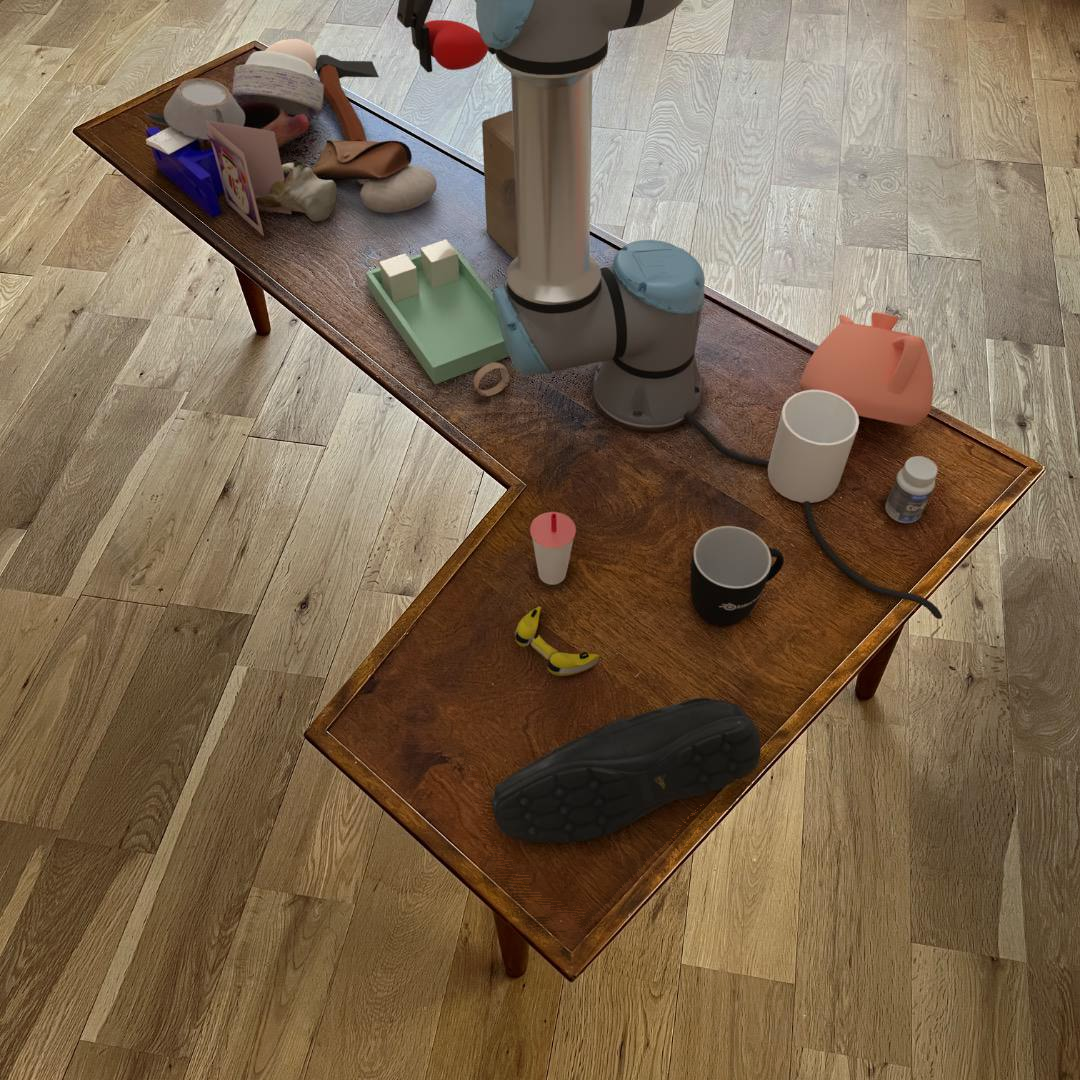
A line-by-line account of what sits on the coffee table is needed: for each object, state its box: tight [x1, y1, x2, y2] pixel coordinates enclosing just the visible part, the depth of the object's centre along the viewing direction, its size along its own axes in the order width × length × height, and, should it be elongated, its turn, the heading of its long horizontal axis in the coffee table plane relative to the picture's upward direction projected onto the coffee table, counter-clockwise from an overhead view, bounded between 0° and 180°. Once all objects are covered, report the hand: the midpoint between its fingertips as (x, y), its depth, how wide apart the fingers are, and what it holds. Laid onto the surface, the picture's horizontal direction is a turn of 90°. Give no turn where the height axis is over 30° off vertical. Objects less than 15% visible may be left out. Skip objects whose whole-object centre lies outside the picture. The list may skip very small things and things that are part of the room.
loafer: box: [491, 697, 762, 844], centre depth 116 cm, size 10×29×10 cm
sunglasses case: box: [311, 139, 413, 180], centre depth 181 cm, size 18×7×7 cm
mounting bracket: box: [145, 125, 225, 219], centre depth 181 cm, size 18×7×6 cm
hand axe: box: [315, 54, 380, 141], centre depth 197 cm, size 12×3×30 cm
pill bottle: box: [884, 455, 939, 524], centre depth 138 cm, size 5×5×8 cm
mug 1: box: [689, 525, 785, 628], centre depth 129 cm, size 12×9×10 cm
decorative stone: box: [359, 165, 438, 214], centre depth 178 cm, size 13×9×5 cm
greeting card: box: [206, 121, 293, 237], centre depth 173 cm, size 11×7×15 cm, turn 40°
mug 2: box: [767, 390, 860, 504], centre depth 141 cm, size 10×12×12 cm
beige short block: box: [378, 252, 419, 303], centre depth 164 cm, size 4×4×5 cm
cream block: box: [419, 239, 460, 289], centre depth 166 cm, size 4×4×5 cm
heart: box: [425, 19, 489, 71], centre depth 161 cm, size 12×5×10 cm
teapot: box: [799, 311, 934, 427], centre depth 145 cm, size 25×17×13 cm
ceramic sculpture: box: [253, 160, 337, 222], centre depth 177 cm, size 11×9×15 cm
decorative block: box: [481, 110, 518, 260], centre depth 166 cm, size 11×6×20 cm, turn 32°
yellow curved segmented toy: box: [514, 606, 601, 677], centre depth 127 cm, size 10×6×4 cm, turn 45°
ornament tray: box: [365, 242, 510, 385], centre depth 162 cm, size 24×15×3 cm, turn 29°
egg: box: [264, 38, 317, 73], centre depth 198 cm, size 9×9×12 cm
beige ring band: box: [473, 361, 511, 397], centre depth 152 cm, size 3×5×5 cm, turn 118°
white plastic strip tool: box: [145, 126, 195, 154], centre depth 180 cm, size 5×15×1 cm, turn 146°
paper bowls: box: [231, 50, 324, 117], centre depth 189 cm, size 15×15×8 cm
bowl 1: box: [163, 77, 245, 141], centre depth 179 cm, size 13×13×5 cm
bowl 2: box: [239, 102, 310, 149], centre depth 186 cm, size 16×13×8 cm
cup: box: [529, 511, 577, 586], centre depth 131 cm, size 5×5×12 cm
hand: (458, 58), depth 163 cm, fingers closed on heart, 10 cm apart
